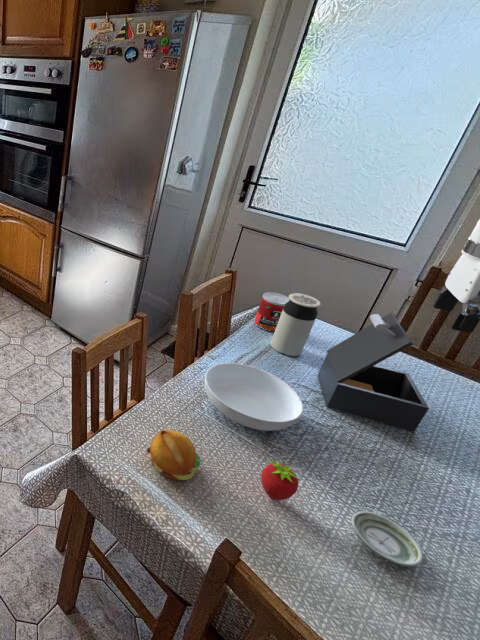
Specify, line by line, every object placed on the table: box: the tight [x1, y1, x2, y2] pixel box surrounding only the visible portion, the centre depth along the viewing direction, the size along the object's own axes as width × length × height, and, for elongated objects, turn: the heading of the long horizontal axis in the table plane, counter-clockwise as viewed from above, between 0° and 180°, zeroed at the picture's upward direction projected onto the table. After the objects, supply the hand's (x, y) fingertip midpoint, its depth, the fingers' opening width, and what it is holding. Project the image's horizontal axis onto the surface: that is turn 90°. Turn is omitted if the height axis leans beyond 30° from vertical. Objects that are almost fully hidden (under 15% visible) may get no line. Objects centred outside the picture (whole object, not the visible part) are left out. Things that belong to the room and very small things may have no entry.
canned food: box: [254, 291, 289, 332], centre depth 137 cm, size 8×8×11 cm
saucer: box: [350, 510, 424, 568], centre depth 76 cm, size 10×10×2 cm
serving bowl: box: [204, 362, 304, 432], centre depth 105 cm, size 21×21×7 cm
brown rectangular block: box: [342, 379, 374, 392], centre depth 108 cm, size 7×6×3 cm
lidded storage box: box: [317, 353, 430, 433], centre depth 107 cm, size 17×14×8 cm
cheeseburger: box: [146, 429, 203, 482], centre depth 90 cm, size 10×11×10 cm
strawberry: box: [260, 459, 299, 501], centre depth 83 cm, size 6×8×10 cm
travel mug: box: [269, 292, 321, 357], centre depth 125 cm, size 8×8×18 cm
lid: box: [326, 312, 414, 383], centre depth 104 cm, size 18×14×5 cm
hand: (451, 319), depth 93 cm, fingers open, 9 cm apart
